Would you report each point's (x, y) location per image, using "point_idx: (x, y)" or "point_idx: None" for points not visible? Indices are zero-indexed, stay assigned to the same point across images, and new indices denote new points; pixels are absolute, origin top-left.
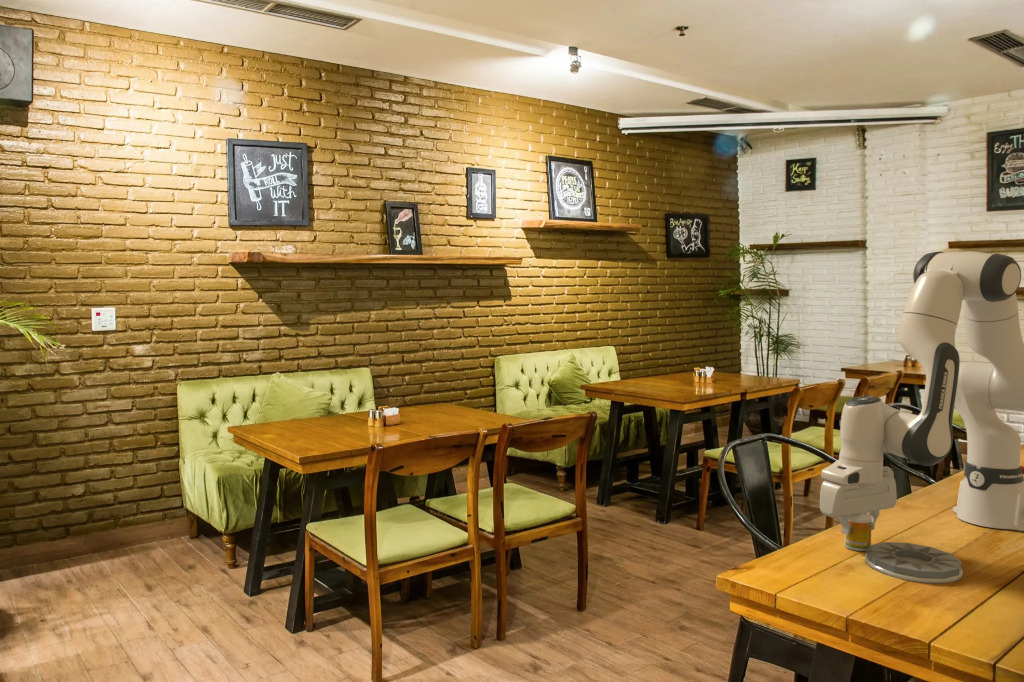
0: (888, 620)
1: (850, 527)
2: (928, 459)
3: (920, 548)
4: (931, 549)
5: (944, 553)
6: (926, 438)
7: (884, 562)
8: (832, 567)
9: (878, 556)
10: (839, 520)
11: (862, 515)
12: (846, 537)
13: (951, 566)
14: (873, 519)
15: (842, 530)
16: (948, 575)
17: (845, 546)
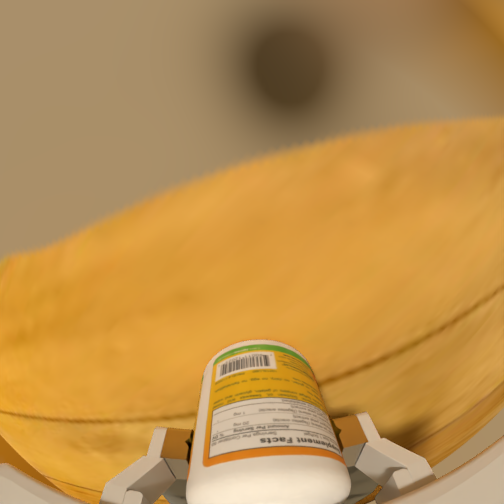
0: (83, 499)
1: (177, 476)
2: None
3: (353, 480)
4: (367, 482)
5: (362, 493)
6: None
7: (169, 502)
8: (69, 425)
9: (182, 492)
10: (119, 475)
11: None
12: (198, 404)
13: None
14: (369, 472)
15: (154, 437)
16: None
17: (205, 368)
